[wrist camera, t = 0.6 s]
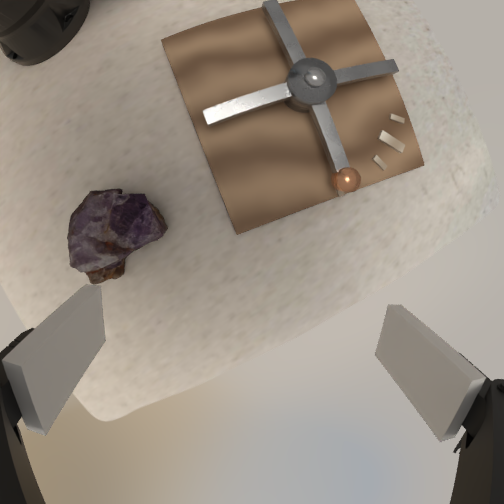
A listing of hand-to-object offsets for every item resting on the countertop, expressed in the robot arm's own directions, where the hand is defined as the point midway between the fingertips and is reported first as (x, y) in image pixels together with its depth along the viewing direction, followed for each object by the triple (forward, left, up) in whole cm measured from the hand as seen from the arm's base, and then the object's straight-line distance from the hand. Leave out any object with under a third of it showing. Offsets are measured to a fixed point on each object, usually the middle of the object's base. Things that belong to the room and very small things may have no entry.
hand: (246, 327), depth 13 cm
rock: (-6, -13, -25) cm, 29 cm away
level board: (-13, +13, -25) cm, 31 cm away
